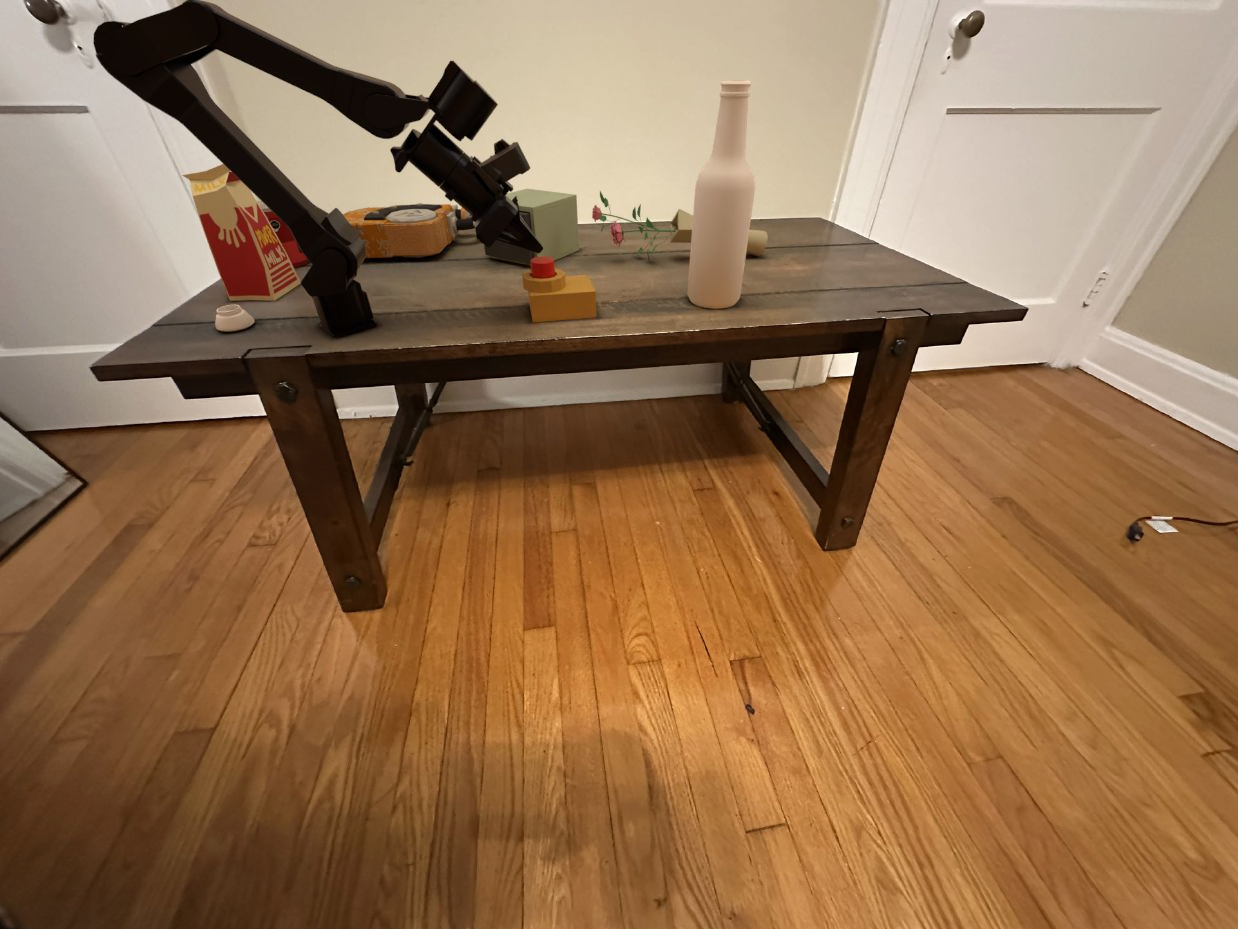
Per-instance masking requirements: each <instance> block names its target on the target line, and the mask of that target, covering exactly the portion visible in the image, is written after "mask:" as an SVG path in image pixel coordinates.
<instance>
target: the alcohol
mask: <svg viewBox="0 0 1238 929" xmlns="http://www.w3.org/2000/svg"><path fill="white" fill-rule="evenodd" d="M720 86H721V91H720V93H719V97H720V101H719V107H718V113H717V118H716V126H715V133H714V139H713V145H712V151H711V154H710V156H709V159H708V160H707V162H706V163H705V165H703V167H702V168H701V170H700V171H699V173H698V176H697V179H696V182H695V188H694V197H693V198H694V199H693V201H694V202H693V211H692V212H693V213H692V215H693V225H692V238H691V243H690V251H689V267H688V279H687V290H686V291H687V293H686V295H687V297H688V299H689V301H690V303H692V304H693V305H695V306H696V307H700V308H705V309H713V310H715V309H717V310H718V309H726V308H731V307H734V306H735V305H736V304H737V303H738V301H739V300H740V299H741V295H742V286H743V279H744V272H745V266H746V265H745V264H746V259H747V258H746V257H747V253H746V251H747V244H748V236H749V229H750V227H751V221H752V214H753V206H754V200H755V199H754V198H755V191H756V181H755V174H754V171H753V169H752V167H751V166H750V163H749V162H748V160H747V154H746V144H747V127H748V112H749V111H748V110H749V109H748V107H749V97H750V95H751V92H750V87H751V86H752V83H751V81H750V80H746V79H745V80H744V79H743V80H739V79H738V80H737V79H736V80H733V79H732V80H731V79H730V80H723V81H722V82H720ZM750 230H751V229H750Z"/></svg>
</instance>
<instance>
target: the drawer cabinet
mask: <svg viewBox="0 0 1238 929" xmlns="http://www.w3.org/2000/svg"><path fill="white" fill-rule="evenodd" d="M506 196H507V197H508V198H509V199H510V200H511V201H512V199H513V198H514V197H515V196H517V199H518V204H519V211H525V212H530V219H531V230H532V232H533V233H534V235H535V236H536V238H537V239H538V240H539V242H540V243H541V244H542V246H543V250H542V251H541V252H540V253H536V252H534V258H536V257H551V258H553V259H554V262H555V261H557V260H560V259H562V258H564V257H566V256H569V255H572V254H574V253H576V252H579V251H580V241H579V223H578V222H579V221H578V220H579V219H578V200H577V197H578V196H577V194H574V193H565V192H558V191H550V190H541V189H534V188H524V189H521V190H516V191H512V192H508V193H507V194H506ZM489 258H491V259H496V260H501V261H506V262H511V263H515V264H520V265H526V266H530V267H531V264H527V263H522V262H517V261H512V260H507V259H502V258H497V257H492V256H489Z"/></svg>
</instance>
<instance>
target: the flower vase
mask: <svg viewBox="0 0 1238 929" xmlns="http://www.w3.org/2000/svg"><path fill="white" fill-rule="evenodd" d="M599 197H600V201H601V202H602V204H603V206H604V207H605V208H608V207H611V205H610V204H609V200H608V198H607V197H604V195H603V192H602V191H601V190H599ZM641 208H642V204H641V203H640V204H639V206H638V207H637V210H636V207H633V209H632V212H631V216H632V218H633V220H635V221H633V220H631V219H627V218H624V217H621V216H617V215H613V214H611V208H608V209H609V213H602V210H601V208H600V207H598V205H597V204H594V205H593V208H592V212H591V214H592V215H591V216H592V217H591V219H593V220H594V223H596V222H597V221H598V220H599V221H601V222H603V223H602V226H601V229H600V232H603V230H604V228H605V227H608V226H610V234H611V235H612V241H613V242H612V243H613V244H615V245H616V246H618V247H619V248H621V244H622V242H623V241H625V242H626V239H625V236H624V235H625V234H624V233H632V232H633V233H634V232H640V234H642V233H644V235H643V236H644V237H643V240H644V241H646V240H647V239H649V235H648V232H657V233H656V234H655V235H654V236H653V237H652V238H650V240H649V242H648V244H647V245H646V246H645V248H647V247H648V246H649V244H650V247H653V248H652V250H651V252H650V254H649V251H650V248H648V249H647V251H646V252H647V254H646V255H647V258H648V261H649V263H650V264H652V263H651V262H652V261H651V259H650V256H652V255H653V253H654V251H655V250H656V248H657V247H658V246H659V245H661V244H664V243H665V242H666V241H667V239H665V241H663V242H660V243H657V244H655V245H653V244H654V241H655V240H656V239H661V238H663V236H661V237H657V235H659V233H661V232H663V233H665V232H666V233H670V234H668V235H666V236H664V238H668V237H670V238H669V241H670V243H671V244H672V243H673V244H677V243H678V244H680V243H681V244H687V243H688V244H691V238H692V225H693V214H691V213H689V212H687V211H685V210H683V209H681V208H678V210H677V211H676V213H675V214H674V216H673V217H672V219H671V221H670V228H669V229H659V228H657V227H655V224H654V223H653V222H652V221H651V220H650V218H648V217H646V219H645V224H644V223H642V222H641V221H642V219H641ZM607 216H608V217H613V218H616V220H615V219H614V220H613V221H612V220H608V219H607ZM637 216H638V218H639V220H640V221H639V220H637ZM617 218H618V219H617ZM619 220H624V221H627V222H630V223H633V224H636V225H638V226H637V228H638V229H630V230H624V229H623V227H622V224H621V223H622V222H619V223H618V222H617V221H619ZM606 221H607V222H610V224H607V225H604V223H605V222H606ZM767 244H768V233H767V231H765V230H761V229H760V230H758V229H749V236H748V244H747V251H746V254H748V255H751V256H754V257H760V256H762V254H764V252H765V250H766V247H767ZM645 248H644V249H643V247H642V246H641V247H639V249H638V251H637V254H636V258H638V257H639V256H640V255H641V254H642V253H643V251H644V250H645Z"/></svg>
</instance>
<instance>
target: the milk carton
mask: <svg viewBox="0 0 1238 929" xmlns="http://www.w3.org/2000/svg"><path fill="white" fill-rule="evenodd" d="M181 176H182V177H184V178H185V179H188V181H189V185H190V191H191V196H192V199H193V202H194V205H195V209H196V212H197V215H198V218H199V221H200V224H201V228H202V231H203V233H204V236H205V239H206V241H207V244H208V247H209V250H210V253H211V256H212V258H213V261H214V264H215V266H216V269H217V272H218V275H219V277H220V280H221V282H222V284H223V288H224V290H225V292H226V295H227V297H228V299H229V301H231V302H232V301H268V302H269V301H272V302H274V301H276V300H278V299H280V298H281V297H283V296H284V295H286V294H287V293H289V292H290V291H292V290H293V289H295V288H296V287H298V286H299V285H301V279H300V277H299V275H298V274H297V271H296V270H295V268H294V267H293V265H292V263H291V261H290V259H289V257H288V255H287V253H286V251H285V250H284V248H283V246H282V244H281V242H280V240H279V239H278V237H277V235H276V233H275V231H274V230H273V228H272V226H271V224H270V222H269V221H268V219H267V217H266V215H265V214H264V212H263V210H262V209H261V207H260V206H259V204H258V200H257V199H256V198H255V196H254V193H253V192H252V191H251V190H250V189H249V188H248V187H247V186H246V185H245V184H244V183H242V182H241V181H240V180H239V179H238V178H237V177H236V176H235V175H234V174H233V173H232V172H231V171H230V170H229V169H228V168H227V167H226V166H225V165H224V164H223V163H221V164H219V165H217V166H215V167H212V168H209V169H207V170H204V171H203V170H202V171H198V172H191V173H187V174H182V175H181Z"/></svg>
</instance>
